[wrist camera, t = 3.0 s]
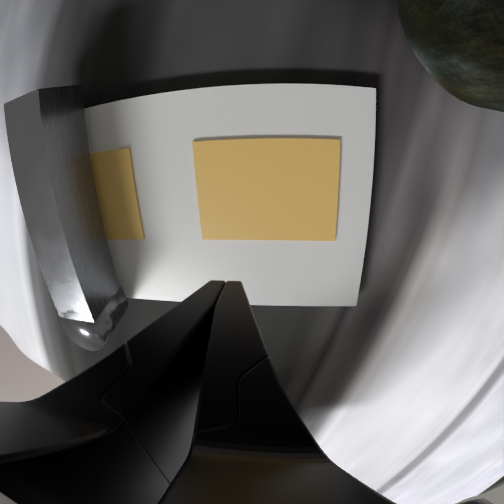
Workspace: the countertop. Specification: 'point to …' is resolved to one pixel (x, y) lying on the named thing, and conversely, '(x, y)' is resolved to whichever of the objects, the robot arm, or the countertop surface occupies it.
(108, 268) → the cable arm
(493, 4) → the mug
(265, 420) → the robot arm
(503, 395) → the countertop surface
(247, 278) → the label panel
